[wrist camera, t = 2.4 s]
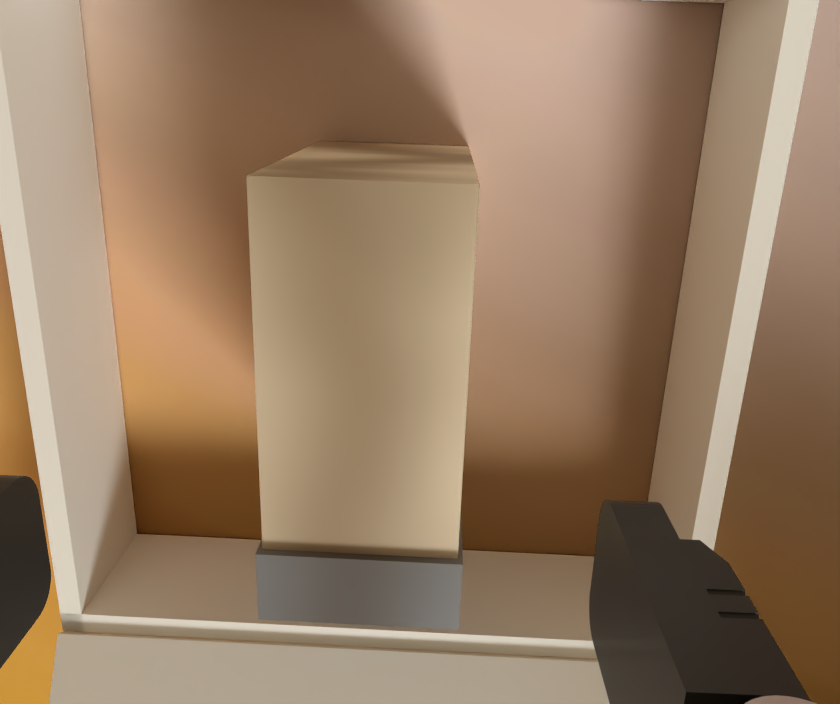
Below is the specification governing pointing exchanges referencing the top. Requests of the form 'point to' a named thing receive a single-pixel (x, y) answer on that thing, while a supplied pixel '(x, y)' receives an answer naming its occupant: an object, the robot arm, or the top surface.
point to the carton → (235, 558)
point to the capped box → (362, 380)
